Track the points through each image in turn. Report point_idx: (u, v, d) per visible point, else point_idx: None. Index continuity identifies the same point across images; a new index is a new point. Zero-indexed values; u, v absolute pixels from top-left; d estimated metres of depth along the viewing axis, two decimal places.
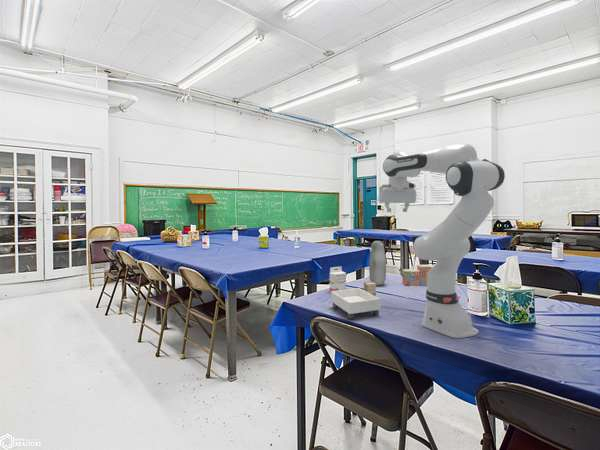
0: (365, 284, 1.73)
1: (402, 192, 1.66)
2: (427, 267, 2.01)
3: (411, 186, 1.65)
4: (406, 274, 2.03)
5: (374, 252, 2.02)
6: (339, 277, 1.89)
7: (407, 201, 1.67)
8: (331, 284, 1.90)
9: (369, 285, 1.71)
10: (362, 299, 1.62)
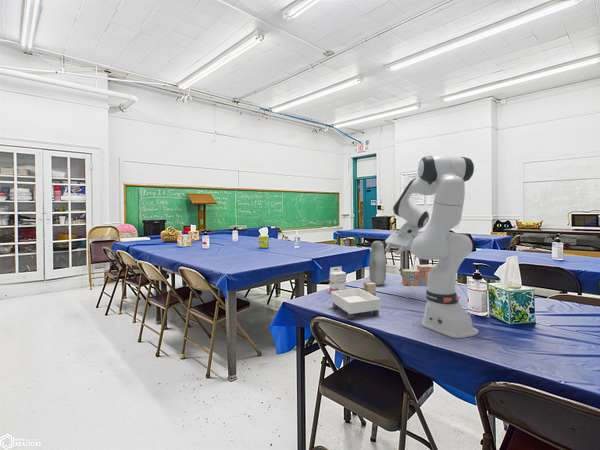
0: (365, 284, 1.73)
1: (402, 237, 1.76)
2: (427, 267, 2.01)
3: (409, 232, 1.72)
4: (406, 274, 2.03)
5: (374, 252, 2.02)
6: (339, 277, 1.89)
7: (400, 244, 1.72)
8: (331, 284, 1.90)
9: (369, 285, 1.70)
10: (362, 299, 1.62)
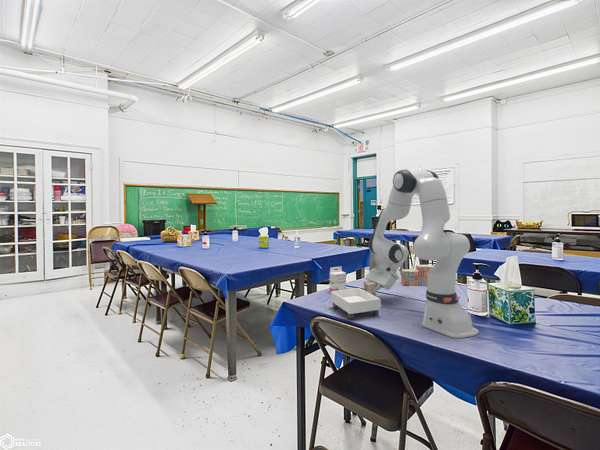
0: (365, 284, 1.73)
1: (381, 275, 1.73)
2: (426, 267, 2.01)
3: (387, 270, 1.69)
4: (405, 274, 2.03)
5: None
6: (339, 277, 1.89)
7: (379, 282, 1.69)
8: (331, 284, 1.90)
9: (369, 285, 1.70)
10: (362, 299, 1.62)
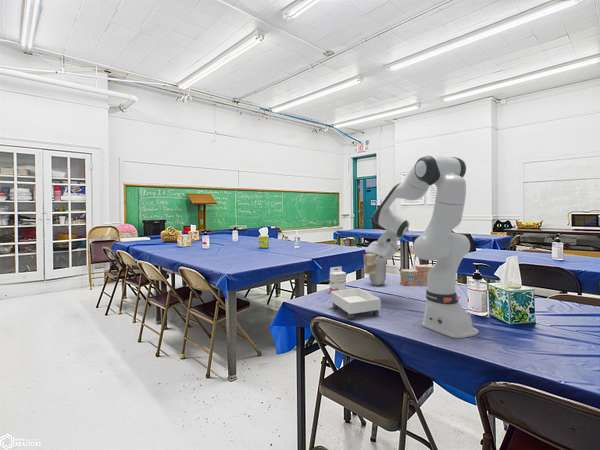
0: (365, 255, 1.71)
1: (381, 246, 1.72)
2: (425, 267, 2.01)
3: (388, 241, 1.68)
4: (404, 274, 2.03)
5: None
6: (339, 277, 1.89)
7: (379, 253, 1.68)
8: (331, 284, 1.90)
9: (369, 256, 1.69)
10: (362, 299, 1.62)
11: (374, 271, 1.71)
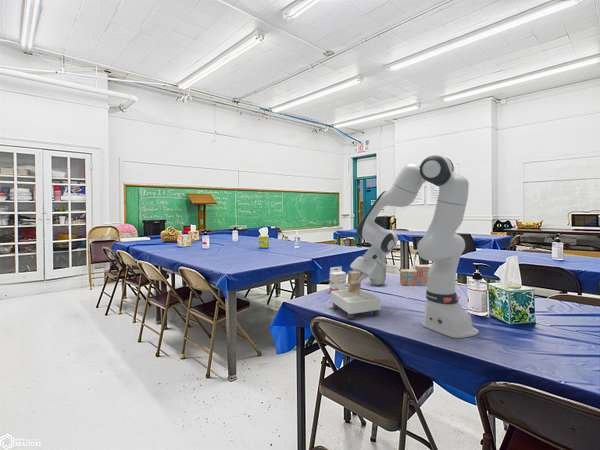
0: (349, 272, 1.57)
1: (367, 263, 1.57)
2: (425, 267, 2.01)
3: (374, 257, 1.53)
4: (404, 274, 2.02)
5: None
6: (339, 277, 1.89)
7: (364, 271, 1.53)
8: (331, 284, 1.90)
9: (353, 274, 1.55)
10: (362, 299, 1.62)
11: (358, 290, 1.56)
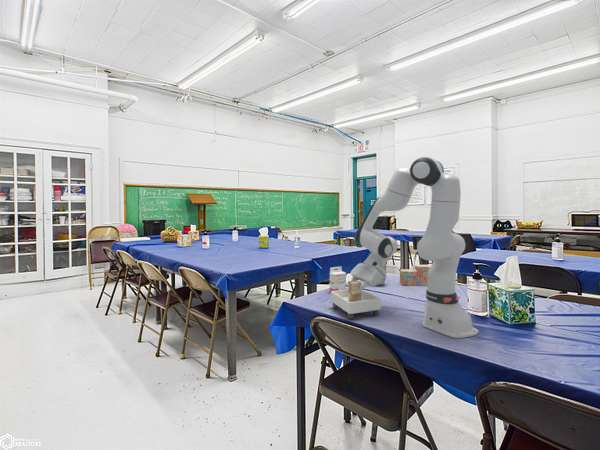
0: (350, 283, 1.57)
1: (367, 270, 1.57)
2: (424, 267, 2.01)
3: (374, 264, 1.54)
4: (403, 274, 2.02)
5: None
6: (339, 277, 1.89)
7: (365, 278, 1.54)
8: (331, 284, 1.90)
9: (354, 284, 1.55)
10: (362, 299, 1.62)
11: (359, 300, 1.56)
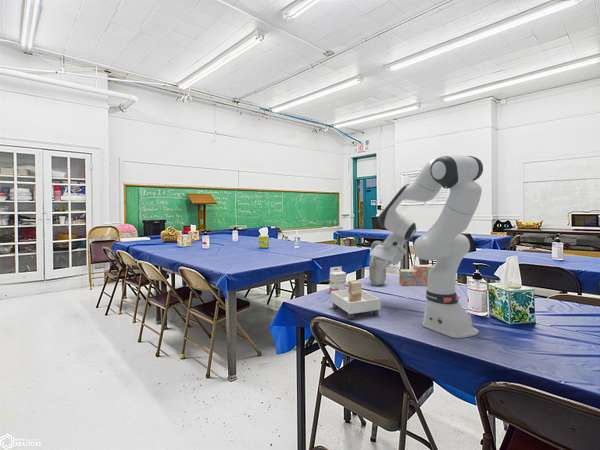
0: (350, 283, 1.57)
1: (388, 250, 1.62)
2: (424, 267, 2.01)
3: (394, 244, 1.59)
4: (403, 274, 2.02)
5: None
6: (339, 277, 1.89)
7: (386, 258, 1.59)
8: (331, 284, 1.90)
9: (354, 284, 1.55)
10: (362, 299, 1.62)
11: (359, 300, 1.56)
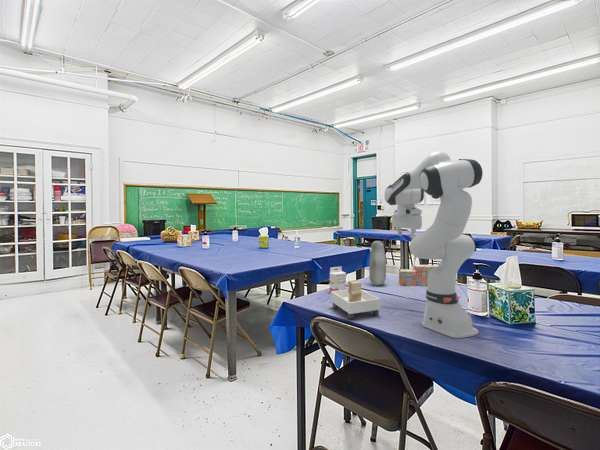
0: (350, 283, 1.57)
1: (405, 218, 1.68)
2: (423, 267, 2.01)
3: (408, 212, 1.64)
4: (403, 274, 2.02)
5: (374, 252, 2.02)
6: (339, 277, 1.89)
7: (408, 227, 1.66)
8: (331, 284, 1.90)
9: (354, 284, 1.55)
10: (362, 299, 1.62)
11: (359, 300, 1.56)
